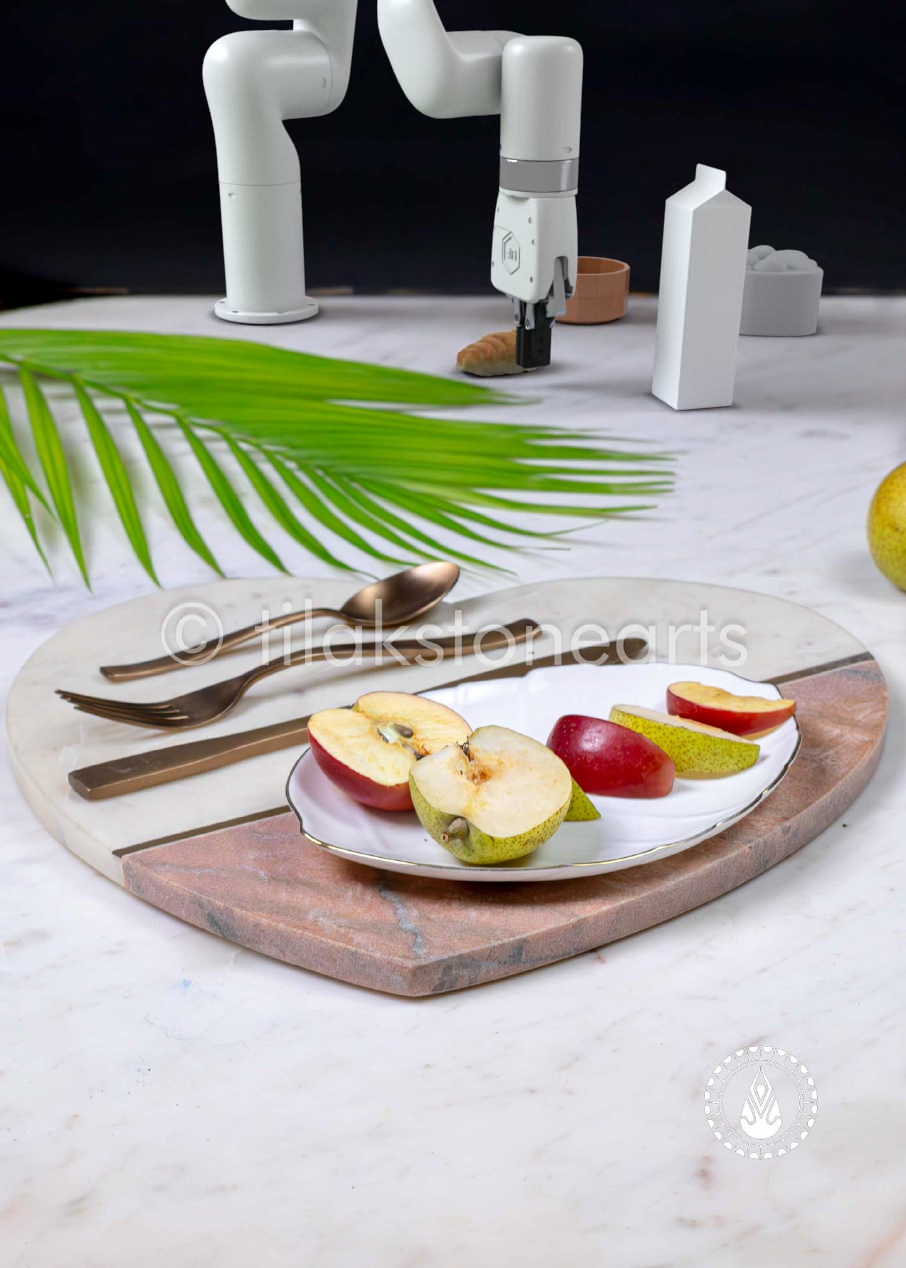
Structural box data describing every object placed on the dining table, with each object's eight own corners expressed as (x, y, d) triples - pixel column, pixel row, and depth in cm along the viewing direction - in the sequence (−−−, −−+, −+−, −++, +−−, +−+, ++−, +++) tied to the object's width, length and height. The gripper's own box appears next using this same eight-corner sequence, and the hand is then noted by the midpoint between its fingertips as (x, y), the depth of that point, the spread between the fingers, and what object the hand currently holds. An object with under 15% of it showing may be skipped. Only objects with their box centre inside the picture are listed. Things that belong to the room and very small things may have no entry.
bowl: (518, 309, 169) (520, 260, 167) (596, 301, 174) (599, 253, 171) (562, 329, 160) (565, 278, 158) (643, 320, 164) (647, 270, 162)
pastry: (481, 383, 139) (481, 346, 138) (440, 369, 144) (440, 334, 142) (549, 368, 145) (550, 333, 143) (507, 356, 149) (508, 321, 148)
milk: (676, 411, 131) (694, 173, 121) (650, 394, 137) (666, 164, 127) (733, 406, 133) (756, 170, 123) (706, 389, 138) (725, 161, 128)
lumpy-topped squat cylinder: (820, 337, 158) (829, 261, 154) (707, 334, 159) (714, 258, 155) (805, 316, 167) (814, 244, 163) (698, 313, 168) (705, 242, 164)
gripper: (469, 169, 135) (467, 352, 143) (541, 189, 123) (534, 388, 131) (536, 165, 138) (531, 345, 146) (612, 185, 125) (602, 379, 133)
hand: (532, 365), depth 138 cm, fingers closed
